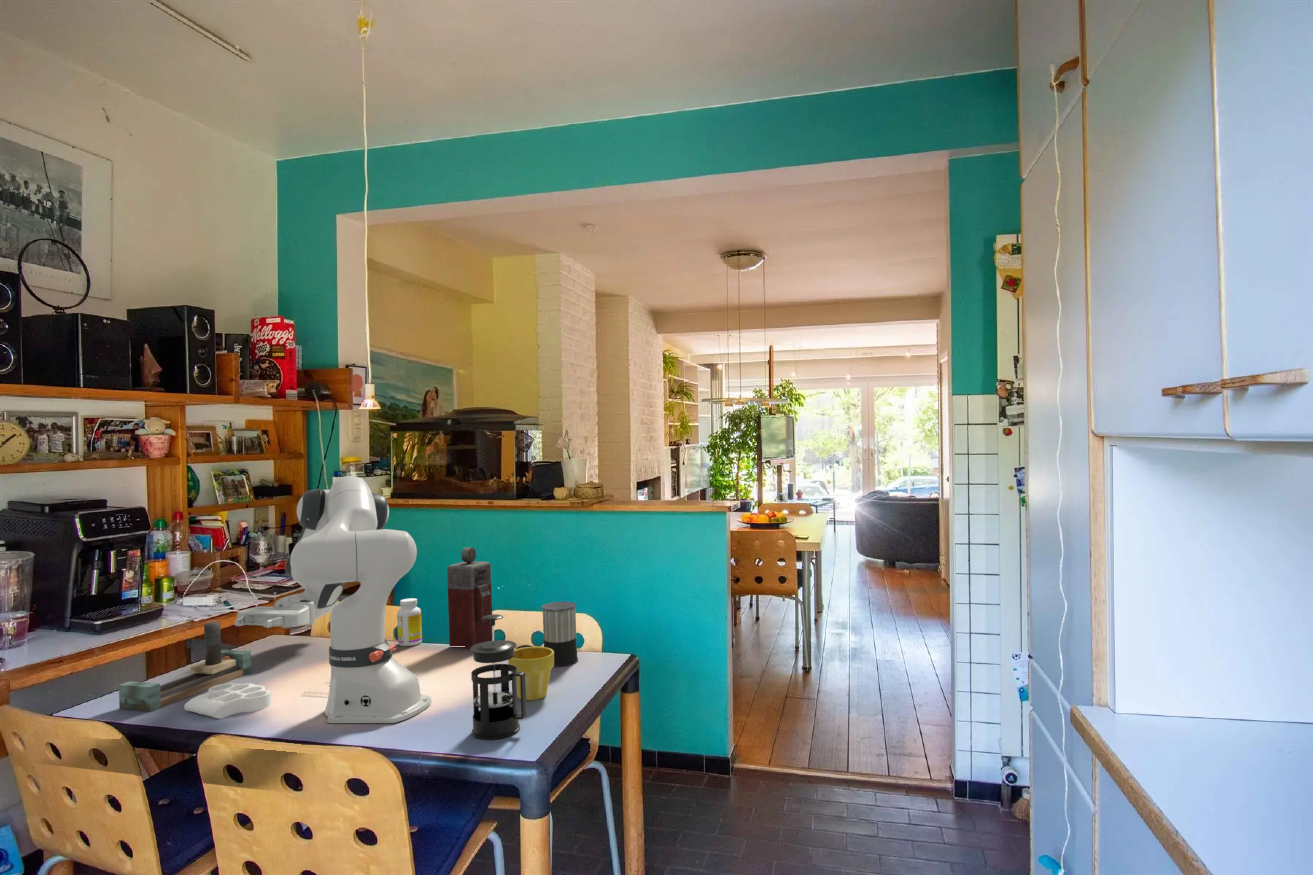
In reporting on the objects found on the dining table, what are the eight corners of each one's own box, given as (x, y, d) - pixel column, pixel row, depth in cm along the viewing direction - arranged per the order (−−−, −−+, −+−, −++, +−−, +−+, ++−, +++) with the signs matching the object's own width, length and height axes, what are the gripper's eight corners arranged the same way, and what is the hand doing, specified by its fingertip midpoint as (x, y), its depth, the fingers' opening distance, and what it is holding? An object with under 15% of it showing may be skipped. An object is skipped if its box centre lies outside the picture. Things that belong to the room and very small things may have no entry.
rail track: (251, 672, 189) (250, 651, 189) (150, 711, 162) (149, 687, 162) (223, 670, 191) (222, 649, 191) (119, 709, 164) (118, 684, 164)
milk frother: (584, 662, 188) (582, 605, 188) (527, 674, 179) (525, 615, 180) (561, 650, 200) (559, 596, 200) (506, 661, 191) (505, 605, 191)
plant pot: (564, 694, 164) (563, 651, 164) (526, 707, 157) (524, 662, 157) (538, 684, 172) (536, 643, 172) (500, 696, 164) (499, 653, 164)
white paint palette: (176, 712, 162) (240, 691, 175) (224, 724, 154) (287, 702, 167) (175, 697, 162) (239, 677, 175) (223, 709, 154) (287, 687, 167)
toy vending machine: (481, 650, 202) (478, 550, 202) (448, 647, 206) (445, 549, 207) (500, 642, 210) (497, 545, 210) (468, 639, 215) (465, 544, 215)
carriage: (236, 665, 186) (234, 620, 186) (212, 674, 179) (211, 627, 179) (214, 664, 187) (212, 619, 188) (190, 672, 181) (188, 626, 181)
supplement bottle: (425, 640, 215) (424, 597, 215) (416, 646, 208) (414, 602, 208) (404, 640, 215) (402, 597, 215) (394, 646, 209) (392, 602, 209)
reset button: (232, 665, 187) (232, 655, 187) (229, 667, 186) (228, 657, 186) (224, 665, 188) (224, 655, 188) (221, 666, 187) (220, 656, 187)
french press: (459, 737, 141) (456, 620, 142) (483, 719, 151) (480, 609, 151) (514, 742, 138) (510, 622, 139) (535, 723, 147) (531, 610, 148)
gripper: (259, 599, 211) (219, 610, 198) (318, 601, 206) (281, 613, 192) (260, 621, 211) (220, 633, 198) (319, 623, 206) (282, 637, 192)
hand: (250, 623), depth 195 cm, fingers open, 8 cm apart
